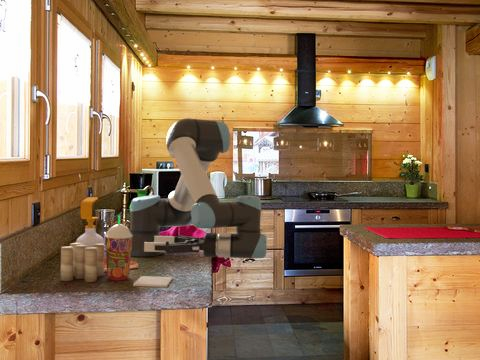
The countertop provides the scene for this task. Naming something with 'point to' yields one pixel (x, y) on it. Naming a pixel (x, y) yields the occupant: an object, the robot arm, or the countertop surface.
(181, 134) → the robot arm
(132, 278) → the countertop surface
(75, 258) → the spacer posts
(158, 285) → the plate
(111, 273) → the smoothie
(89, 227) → the soap bottle
